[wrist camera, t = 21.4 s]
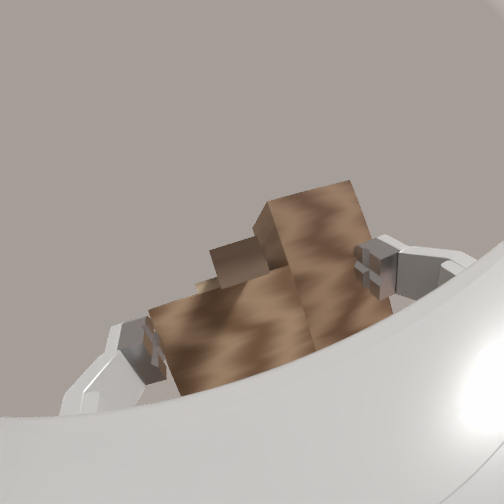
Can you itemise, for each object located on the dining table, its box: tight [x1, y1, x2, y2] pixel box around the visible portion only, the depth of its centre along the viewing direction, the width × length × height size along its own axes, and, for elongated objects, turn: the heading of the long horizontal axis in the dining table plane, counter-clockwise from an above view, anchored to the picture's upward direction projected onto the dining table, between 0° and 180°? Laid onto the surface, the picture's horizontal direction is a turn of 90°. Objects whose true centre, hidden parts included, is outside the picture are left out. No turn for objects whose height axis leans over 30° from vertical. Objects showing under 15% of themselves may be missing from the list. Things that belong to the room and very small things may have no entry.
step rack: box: [149, 180, 393, 397], centre depth 29 cm, size 22×12×26 cm, turn 97°
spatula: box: [195, 236, 270, 294], centre depth 24 cm, size 21×7×2 cm, turn 7°
